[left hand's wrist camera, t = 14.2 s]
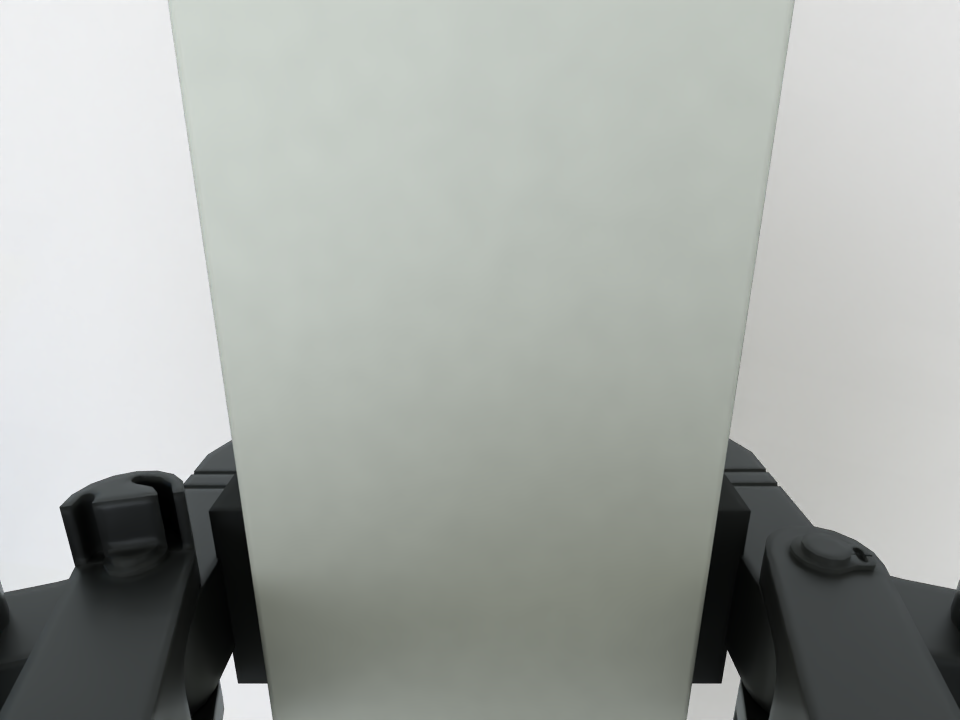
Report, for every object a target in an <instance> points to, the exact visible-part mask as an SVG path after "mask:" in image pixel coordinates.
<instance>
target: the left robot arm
mask: <svg viewBox="0 0 960 720" xmlns="http://www.w3.org/2000/svg"><path fill="white" fill-rule="evenodd" d="M60 511H61V515H62V518H63V522H64V526H65V530H66V533H67V537H68V541H69V545H70V549H71V552H72V556H73V560H74V564H75V568H74V570H73V572H72V574H71V576H70V578H69V579H67V580H63V581H59V582H55V583H50V584H45V585H40V586H35V587H30V588H25V589H20V590H15V591H10V592H5V593H4V592H3V588H2V585H1V582H0V720H223V713H224V704H223V696H222V690H221V685H220V678H221V676H222V673H223V671H224V669H225V667H226V665H227V663H228V661H229V659H230V656H231V654H232V652H233V657H234V662H235V668H236V674H237V680H238V683H268V682H267V676H266V669H265V662H264V655H263V648H262V641H261V635H260V628H259V621H258V614H257V607H256V600H255V593H254V587H253V580H252V573H251V566H250V559H249V552H248V546H247V539H246V532H245V525H244V518H243V511H242V505H241V498H240V491H239V484H238V477H237V470H236V464H235V457H234V450H233V443H232V440H231V441H229V442H228V443H226V444H225V445H223V446H221V447H220V448H218V449H216V450H215V451H213V452H211V453H210V454H208V455H207V456H206V458H205V459H204V460H203V461H202V462H201V464H200V465H199V466H198V467H197V468H196V470H195V471H194V475H191V476H190V477H189V478H188V479H187V480H186V482H185V483H184V484H183V481H182V480H181V479H179V478H178V477H177V476H175V475H174V474H171V473H166V472H161V471H136V472H131V473H126V474H120V475H115V476H112V477H109V478H106V479H103V480H101V481H98V482H95V483H92V484H90V485H88V486H86V487H85V488H83V489H81V490H79V491H78V492H76V493H74V494H72V495H71V496H70V497H69V498H68V499H67V500H66V501H65V502H64V503H63V504H62V505H61V506H60ZM727 650H728V652H729V654H730V656H731V658H732V660H733V663H734V665H735V667H736V669H737V671H738V673H739V675H740V677H741V679H740V685H739V690H738V696H737V701H736V706H735V712H734V717H733V720H960V580H959V583H958V586H957V590H955V589H950V588H945V587H940V586H935V585H930V584H925V583H920V582H915V581H910V580H905V579H900V578H897V577H893V576H890V575H889V573H888V571H887V569H886V567H885V565H884V564H883V563H882V562H881V561H880V559H879V558H878V557H877V556H876V555H875V553H874V552H872V551H871V550H869V549H868V548H866V547H865V546H863V545H862V544H861V543H859V542H858V541H856V540H854V539H852V538H849V537H847V536H845V535H842V534H840V533H837V532H835V531H831V530H827V529H823V528H818V527H814V526H813V525H812V524H811V523H810V521H809V520H808V519H807V518H806V517H805V515H804V514H803V513H802V512H801V511H800V509H799V508H798V507H797V506H796V505H795V503H794V502H793V501H792V500H791V499H790V497H789V496H788V495H787V494H786V493H785V491H784V490H783V489H782V488H781V487H780V486H777V482H776V481H775V479H774V478H773V477H772V476H771V475H770V473H769V472H766V469H765V467H764V466H763V465H762V464H761V463H760V461H759V460H758V459H757V458H756V457H755V455H754V454H753V453H752V452H751V451H749V450H747V449H746V448H744V447H742V446H741V445H739V444H737V443H736V442H734V441H732V440H731V439H729V440H728V446H727V453H726V460H725V466H724V473H723V480H722V486H721V493H720V500H719V506H718V513H717V520H716V526H715V533H714V539H713V546H712V553H711V559H710V566H709V573H708V579H707V586H706V593H705V599H704V606H703V613H702V619H701V626H700V632H699V639H698V646H697V652H696V659H695V666H694V672H693V679H692V683H722V677H723V671H724V666H725V660H726V654H727Z"/></svg>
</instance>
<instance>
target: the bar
mask: <svg viewBox="0 0 960 720" xmlns="http://www.w3.org/2000/svg"><path fill="white" fill-rule="evenodd" d="M794 1H795V0H168V5H169V12H170V19H171V26H172V33H173V40H174V46H175V53H176V60H177V67H178V74H179V81H180V87H181V94H182V101H183V108H184V115H185V122H186V128H187V135H188V142H189V149H190V156H191V163H192V169H193V176H194V183H195V190H196V197H197V204H198V210H199V217H200V224H201V231H202V238H203V245H204V252H205V258H206V265H207V272H208V279H209V286H210V293H211V299H212V306H213V313H214V320H215V327H216V334H217V340H218V347H219V354H220V361H221V368H222V375H223V381H224V388H225V395H226V402H227V409H228V416H229V423H230V429H231V436H232V443H233V450H234V457H235V464H236V470H237V477H238V484H239V491H240V498H241V505H242V511H243V518H244V525H245V532H246V539H247V546H248V552H249V559H250V566H251V573H252V580H253V587H254V593H255V600H256V607H257V614H258V621H259V628H260V635H261V641H262V648H263V655H264V662H265V669H266V676H267V682H268V689H269V696H270V703H271V710H272V717H273V720H686V719H687V712H688V706H689V699H690V692H691V686H692V679H693V672H694V666H695V659H696V652H697V646H698V639H699V632H700V626H701V619H702V613H703V606H704V599H705V593H706V586H707V579H708V573H709V566H710V559H711V553H712V546H713V539H714V533H715V526H716V520H717V513H718V506H719V500H720V493H721V486H722V480H723V473H724V466H725V460H726V453H727V446H728V440H729V433H730V426H731V420H732V413H733V407H734V400H735V393H736V387H737V380H738V373H739V367H740V360H741V353H742V347H743V340H744V333H745V327H746V320H747V314H748V307H749V300H750V294H751V287H752V280H753V274H754V267H755V260H756V254H757V247H758V240H759V234H760V227H761V221H762V214H763V207H764V201H765V194H766V187H767V181H768V174H769V167H770V161H771V154H772V147H773V141H774V134H775V128H776V121H777V114H778V108H779V101H780V94H781V88H782V81H783V74H784V68H785V61H786V54H787V48H788V41H789V34H790V28H791V21H792V15H793V8H794Z"/></svg>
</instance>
